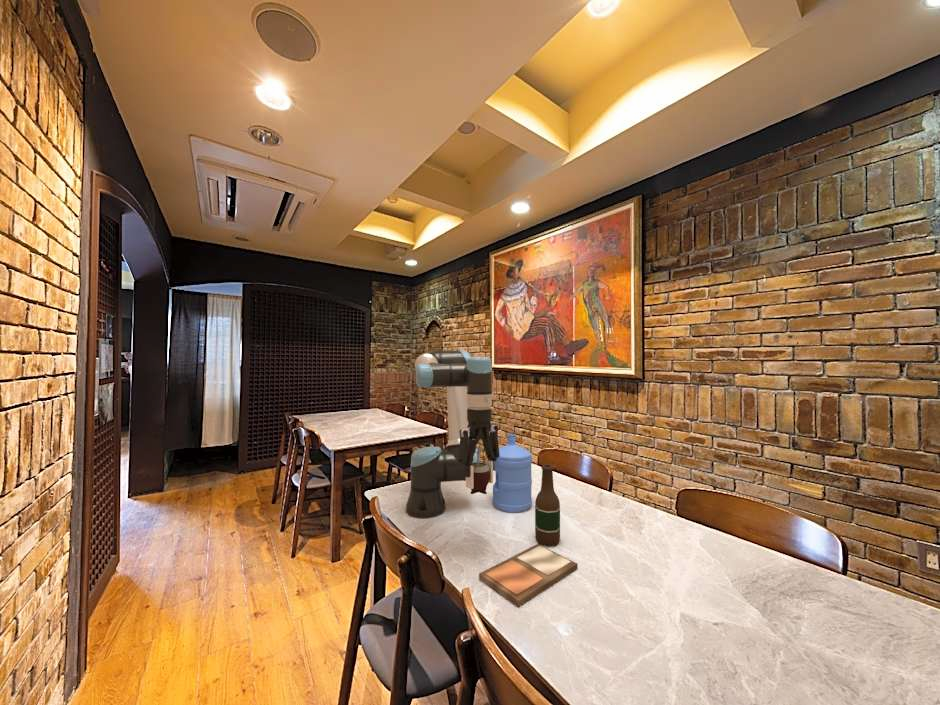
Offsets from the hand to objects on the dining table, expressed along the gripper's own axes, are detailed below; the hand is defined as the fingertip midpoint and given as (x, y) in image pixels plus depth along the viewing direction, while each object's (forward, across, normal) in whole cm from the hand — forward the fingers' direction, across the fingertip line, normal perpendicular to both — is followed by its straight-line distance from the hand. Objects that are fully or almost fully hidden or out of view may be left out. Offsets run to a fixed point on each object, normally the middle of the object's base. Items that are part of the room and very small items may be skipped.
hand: (479, 484), depth 108 cm
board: (+21, +4, -16) cm, 26 cm away
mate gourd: (+2, 0, 0) cm, 2 cm away
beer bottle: (+21, +22, -8) cm, 31 cm away
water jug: (+20, +34, +19) cm, 44 cm away
